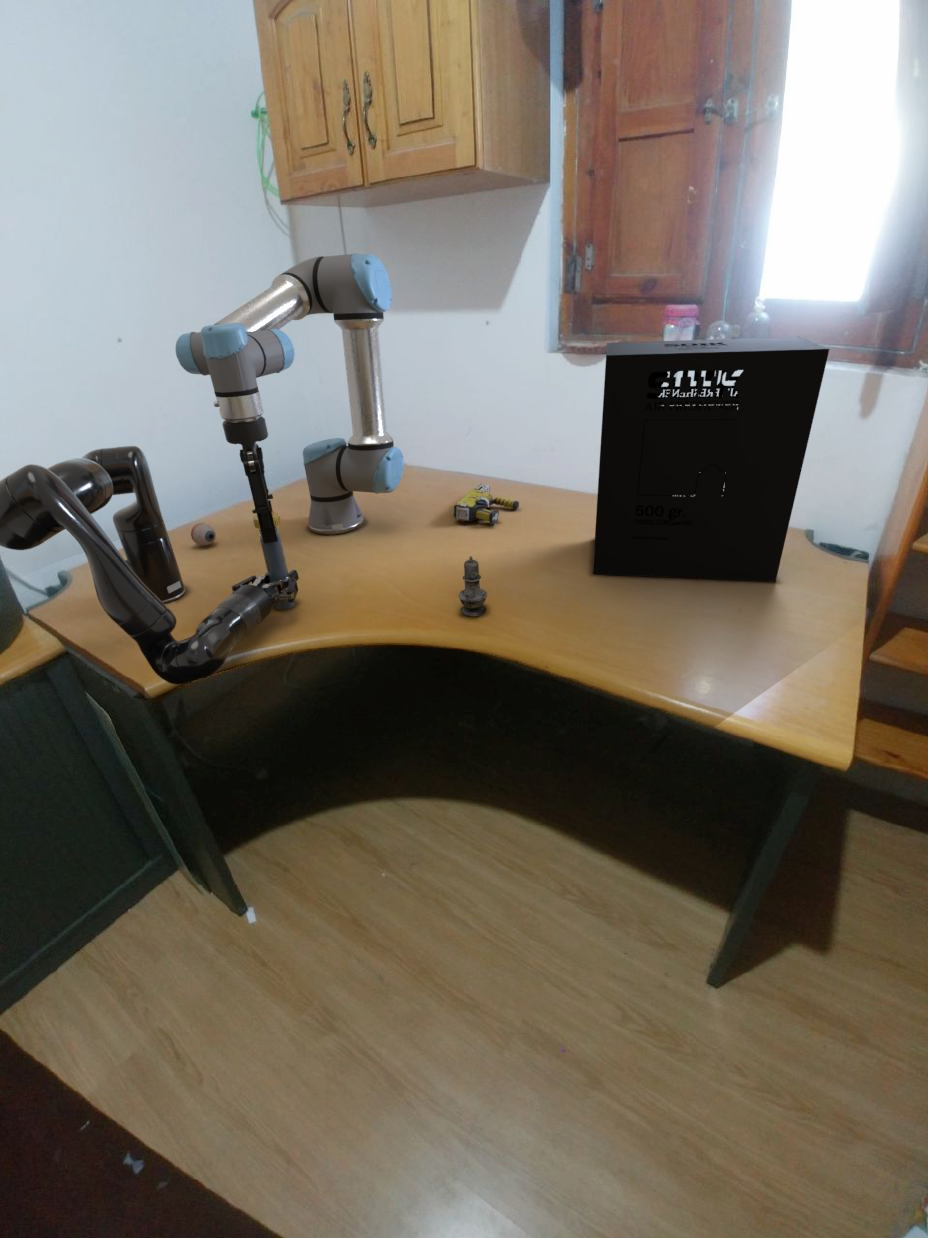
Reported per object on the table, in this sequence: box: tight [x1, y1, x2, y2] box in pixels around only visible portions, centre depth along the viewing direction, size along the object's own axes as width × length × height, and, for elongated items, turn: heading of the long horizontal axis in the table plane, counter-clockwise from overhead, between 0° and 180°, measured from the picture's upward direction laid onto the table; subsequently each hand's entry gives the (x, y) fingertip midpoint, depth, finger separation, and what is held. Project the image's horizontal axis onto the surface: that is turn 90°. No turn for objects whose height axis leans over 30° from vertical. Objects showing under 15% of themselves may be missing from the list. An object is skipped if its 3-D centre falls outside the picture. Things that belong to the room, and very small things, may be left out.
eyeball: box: [190, 522, 217, 547], centre depth 160 cm, size 6×6×6 cm
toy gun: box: [452, 482, 520, 526], centre depth 172 cm, size 5×24×15 cm
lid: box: [252, 511, 281, 530], centre depth 120 cm, size 5×5×2 cm
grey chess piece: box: [457, 555, 488, 617], centre depth 120 cm, size 6×6×12 cm
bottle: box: [258, 527, 296, 611], centre depth 125 cm, size 4×4×18 cm
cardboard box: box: [592, 336, 830, 583], centre depth 128 cm, size 38×20×45 cm, turn 78°
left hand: (285, 573), depth 128 cm, fingers closed on bottle, 4 cm apart
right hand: (270, 536), depth 122 cm, fingers closed on lid, 5 cm apart
